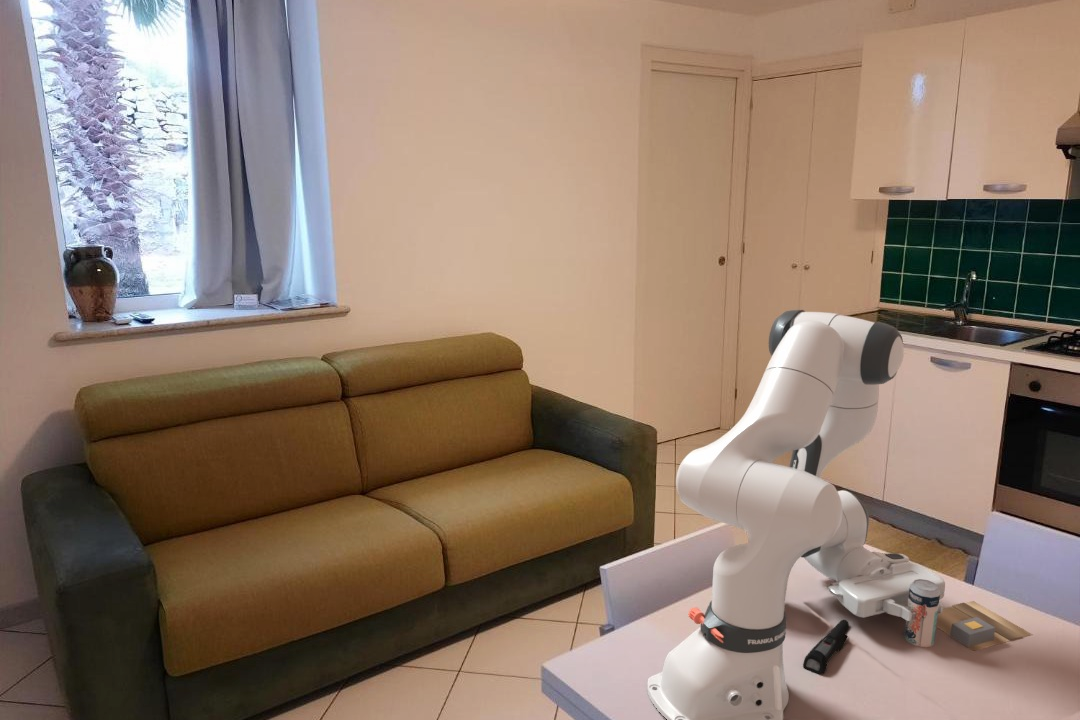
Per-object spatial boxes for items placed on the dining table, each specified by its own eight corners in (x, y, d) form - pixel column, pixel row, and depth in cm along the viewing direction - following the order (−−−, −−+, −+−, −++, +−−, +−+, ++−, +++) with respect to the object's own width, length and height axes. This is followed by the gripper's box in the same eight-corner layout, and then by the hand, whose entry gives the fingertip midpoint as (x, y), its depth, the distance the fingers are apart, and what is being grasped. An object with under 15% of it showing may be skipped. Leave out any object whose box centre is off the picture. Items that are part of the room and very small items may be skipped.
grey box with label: (968, 647, 130) (969, 633, 130) (950, 635, 134) (952, 622, 133) (993, 639, 132) (995, 626, 132) (975, 629, 136) (977, 616, 135)
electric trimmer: (855, 638, 137) (856, 622, 136) (822, 678, 125) (824, 661, 124) (834, 630, 139) (835, 615, 138) (800, 669, 127) (802, 652, 127)
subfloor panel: (972, 658, 130) (974, 649, 129) (916, 622, 141) (917, 614, 140) (1031, 641, 134) (1032, 633, 134) (972, 608, 145) (973, 600, 145)
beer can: (898, 638, 136) (905, 577, 133) (925, 638, 135) (933, 578, 133) (910, 654, 131) (917, 591, 128) (938, 655, 131) (946, 592, 128)
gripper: (824, 570, 139) (881, 608, 127) (909, 552, 146) (971, 586, 133) (821, 601, 141) (877, 641, 128) (906, 581, 148) (967, 618, 135)
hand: (926, 613), depth 131 cm, fingers closed on beer can, 5 cm apart
